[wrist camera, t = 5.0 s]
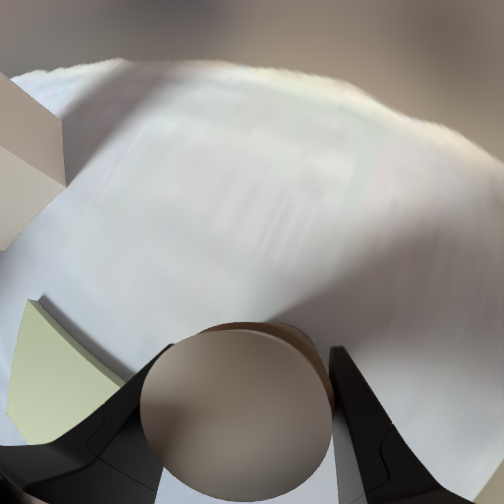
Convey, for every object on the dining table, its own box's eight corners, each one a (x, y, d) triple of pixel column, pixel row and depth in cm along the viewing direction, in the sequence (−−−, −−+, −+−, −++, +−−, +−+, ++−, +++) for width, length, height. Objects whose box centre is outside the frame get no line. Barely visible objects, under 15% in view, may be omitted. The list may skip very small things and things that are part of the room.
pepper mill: (334, 343, 15) (380, 374, 5) (294, 419, 14) (277, 529, 4) (253, 308, 16) (178, 284, 6) (217, 383, 15) (113, 442, 6)
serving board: (150, 399, 16) (140, 403, 15) (108, 508, 14) (100, 513, 12) (37, 300, 19) (27, 299, 18) (14, 413, 17) (6, 414, 16)
